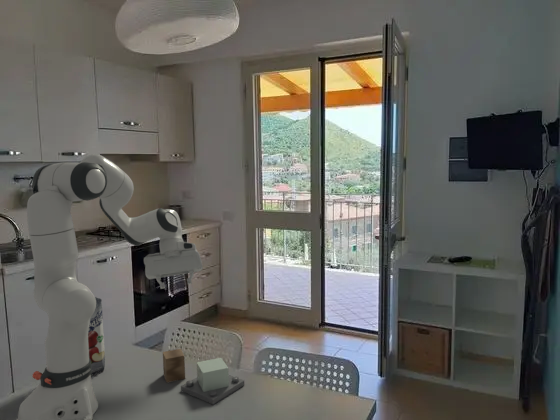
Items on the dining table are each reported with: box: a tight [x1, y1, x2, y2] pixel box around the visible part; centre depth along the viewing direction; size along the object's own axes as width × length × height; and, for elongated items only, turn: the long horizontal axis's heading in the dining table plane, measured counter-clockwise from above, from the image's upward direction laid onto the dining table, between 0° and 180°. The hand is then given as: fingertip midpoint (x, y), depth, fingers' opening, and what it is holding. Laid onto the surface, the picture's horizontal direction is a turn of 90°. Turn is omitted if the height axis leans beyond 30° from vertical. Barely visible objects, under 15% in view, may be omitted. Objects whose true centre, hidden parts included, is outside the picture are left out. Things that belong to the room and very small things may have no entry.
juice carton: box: [88, 296, 106, 376], centre depth 149 cm, size 9×10×27 cm
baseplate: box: [180, 357, 245, 405], centre depth 139 cm, size 14×14×8 cm
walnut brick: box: [162, 348, 186, 383], centre depth 146 cm, size 6×6×8 cm
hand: (176, 285), depth 156 cm, fingers open, 8 cm apart
